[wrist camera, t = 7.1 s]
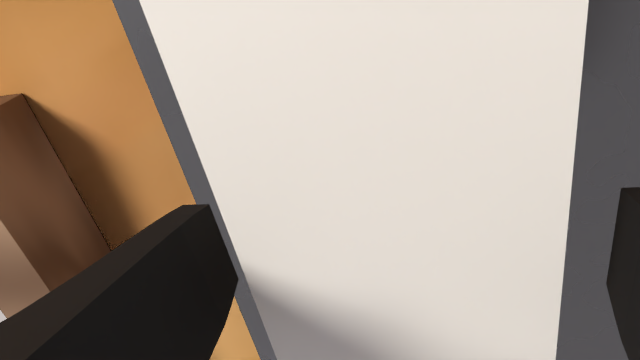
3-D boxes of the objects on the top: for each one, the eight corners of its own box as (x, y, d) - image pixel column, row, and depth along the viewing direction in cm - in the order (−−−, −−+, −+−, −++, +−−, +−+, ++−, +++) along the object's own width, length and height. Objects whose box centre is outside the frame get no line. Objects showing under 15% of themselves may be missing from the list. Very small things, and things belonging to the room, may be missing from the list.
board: (525, 408, 12) (541, 514, 10) (342, 392, 14) (324, 482, 12) (559, -331, 5) (631, -452, 3) (170, -203, 7) (51, -230, 5)
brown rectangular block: (158, 335, 22) (122, 396, 19) (105, 333, 22) (63, 390, 20) (21, 93, 15) (-58, 136, 13) (-46, 102, 16) (-131, 144, 14)
